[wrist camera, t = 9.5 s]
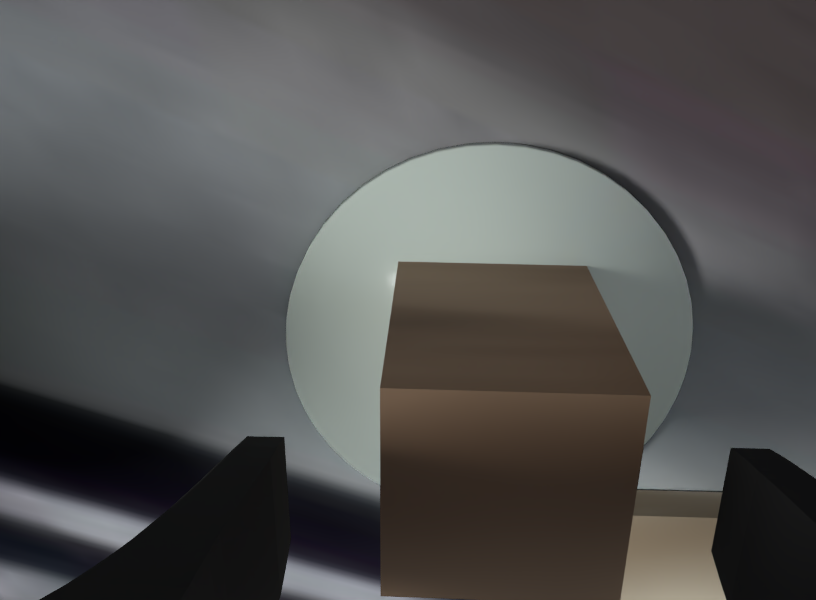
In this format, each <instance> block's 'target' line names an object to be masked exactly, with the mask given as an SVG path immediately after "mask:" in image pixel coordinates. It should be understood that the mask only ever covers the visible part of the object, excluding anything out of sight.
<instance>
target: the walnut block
mask: <svg viewBox="0 0 816 600" xmlns="http://www.w3.org/2000/svg"><path fill="white" fill-rule="evenodd" d="M650 400H651V394H650V392H649V390H648V388H647V386H646V384H645V382H644V380H643V378H642V376H641V374H640V372H639V370H638V368H637V366H636V364H635V362H634V360H633V358H632V356H631V354H630V352H629V350H628V348H627V346H626V344H625V342H624V340H623V338H622V336H621V334H620V332H619V330H618V328H617V326H616V324H615V322H614V320H613V318H612V316H611V314H610V312H609V310H608V308H607V306H606V304H605V302H604V300H603V298H602V296H601V294H600V292H599V290H598V288H597V286H596V284H595V282H594V280H593V278H592V276H591V274H590V271H589V269H588V267H587V266H573V265H530V264H486V263H443V262H399V261H398V267H397V274H396V281H395V288H394V295H393V301H392V308H391V315H390V322H389V329H388V336H387V343H386V350H385V357H384V364H383V370H382V377H381V384H380V524H381V596H393V597H421V598H448V599H476V600H620V599H621V592H622V586H623V579H624V572H625V566H626V559H627V552H628V546H629V539H630V533H631V526H632V519H633V513H634V506H635V499H636V493H637V486H638V480H639V473H640V466H641V460H642V453H643V446H644V440H645V433H646V426H647V420H648V413H649V407H650Z"/></svg>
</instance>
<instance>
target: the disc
mask: <svg viewBox="0 0 816 600" xmlns="http://www.w3.org/2000/svg"><path fill="white" fill-rule="evenodd" d="M398 261H399V262H443V263H486V264H530V265H573V266H587V267H588V269H589V271H590V274H591V276H592V278H593V280H594V282H595V284H596V286H597V288H598V290H599V292H600V294H601V296H602V298H603V300H604V302H605V304H606V306H607V308H608V310H609V312H610V314H611V316H612V318H613V320H614V322H615V324H616V326H617V328H618V330H619V332H620V334H621V336H622V338H623V340H624V342H625V344H626V346H627V348H628V350H629V352H630V354H631V356H632V358H633V360H634V362H635V364H636V366H637V368H638V370H639V372H640V374H641V376H642V378H643V380H644V382H645V384H646V386H647V388H648V390H649V392H650V394H651V400H650V407H649V413H648V420H647V426H646V433H645V440H644V445H645V444H646V443H647V441H648V440H649V439H650V438H651V437H652V436H653V434H654V433H655V432H656V430H657V429H658V428H659V426H660V425H661V424H662V422H663V421H664V420H665V418H666V416H667V414H668V413H669V411H670V409H671V407H672V405H673V404H674V402H675V400H676V398H677V396H678V393H679V391H680V388H681V386H682V383H683V380H684V378H685V375H686V371H687V367H688V363H689V358H690V354H691V346H692V335H693V317H692V303H691V298H690V293H689V289H688V284H687V279H686V277H685V274H684V271H683V269H682V266H681V263H680V261H679V258H678V255H677V254H676V252H675V250H674V248H673V246H672V245H671V243H670V241H669V239H668V238H667V236H666V234H665V232H664V231H663V230H662V229H661V227H660V226H659V225H658V223H657V222H656V221H655V220H654V218H653V217H652V216H651V214H650V213H649V212H648V211H647V210H646V208H645V207H644V206H643V205H642V204H641V203H640V202H639V201H638V200H637V199H635V198H634V197H633V196H632V195H631V194H630V193H629V192H628V191H627V190H626V189H625V188H624V187H622V186H621V185H619V184H618V183H617V182H615V181H614V180H613V179H611V178H610V177H608V176H607V175H606V174H604V173H603V172H601V171H599V170H597V169H595V168H593V167H591V166H589V165H587V164H585V163H583V162H582V161H580V160H578V159H575V158H572V157H569V156H566V155H564V154H561V153H558V152H555V151H552V150H548V149H543V148H539V147H534V146H529V145H525V144H513V143H500V142H488V143H469V144H462V145H456V146H451V147H446V148H440V149H436V150H433V151H430V152H427V153H424V154H421V155H418V156H415V157H412V158H409V159H407V160H405V161H403V162H401V163H399V164H397V165H395V166H393V167H390V168H388V169H386V170H385V171H383V172H382V173H380V174H378V175H377V176H375V177H374V178H372V179H371V180H369V181H368V182H366V183H365V184H363V185H362V186H361V187H360V188H358V189H357V190H356V191H355V192H354V193H353V194H351V195H350V196H349V197H348V198H347V199H346V200H344V201H343V202H342V203H341V204H340V206H339V207H338V208H337V209H336V210H335V211H334V212H333V213H332V215H331V216H330V217H329V218H328V219H327V220H326V221H325V223H324V224H323V226H322V227H321V229H320V230H319V232H318V233H317V235H316V236H315V238H314V239H313V241H312V242H311V244H310V246H309V248H308V251H307V253H306V255H305V257H304V259H303V261H302V263H301V265H300V267H299V269H298V272H297V275H296V278H295V281H294V284H293V287H292V291H291V294H290V299H289V305H288V311H287V318H286V347H287V355H288V362H289V368H290V372H291V375H292V379H293V382H294V386H295V389H296V391H297V394H298V396H299V398H300V401H301V403H302V405H303V407H304V410H305V411H306V413H307V415H308V416H309V418H310V420H311V421H312V423H313V425H314V426H315V428H316V429H317V431H318V432H319V433H320V434H321V436H322V437H323V438H324V439H325V441H326V442H327V443H328V444H329V446H330V447H331V448H332V449H333V450H334V451H335V452H336V453H337V454H338V455H339V456H340V457H341V458H342V459H343V460H344V461H346V462H347V463H348V464H349V465H350V466H352V467H353V468H354V469H356V470H357V471H358V472H360V473H361V474H362V475H364V476H365V477H366V478H368V479H370V480H371V481H373V482H375V483H376V484H378V485H380V384H381V377H382V370H383V364H384V357H385V350H386V343H387V336H388V329H389V322H390V315H391V308H392V301H393V295H394V288H395V281H396V274H397V267H398Z"/></svg>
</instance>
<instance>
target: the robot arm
mask: <svg viewBox="0 0 816 600" xmlns="http://www.w3.org/2000/svg"><path fill="white" fill-rule="evenodd" d="M290 541H291V535H290V519H289V504H288V489H287V473H286V458H285V443H284V437H254V436H247V437H246V438H245V439H244V440H243V441H242V442H241V443H240V444H238V445H237V446H236V447H235V448H234V449H233V450H232V451H231V452H230V453H229V454H228V455H227V456H226V457H225V458H224V459H223V460H221V461H220V462H219V463H218V464H217V465H216V466H215V467H214V468H213V469H212V470H211V471H210V472H209V473H208V474H207V475H206V476H205V477H204V478H203V479H202V480H201V481H199V482H198V483H197V484H196V485H195V486H194V487H193V488H192V489H191V490H190V491H189V492H187V493H186V494H185V495H184V496H183V497H182V498H181V499H180V500H179V501H178V502H176V503H175V504H174V505H173V506H172V507H171V508H170V509H169V510H167V511H166V512H165V513H164V514H162V515H161V516H160V517H159V518H158V519H156V520H155V521H154V522H153V523H151V524H150V525H149V526H148V527H147V528H145V529H144V530H143V531H142V532H140V533H139V534H138V535H137V536H136V537H134V538H133V539H132V540H130V541H129V542H128V543H126V544H125V545H124V546H122V547H121V548H120V549H118V550H117V551H116V552H114V553H113V554H111V555H110V556H109V557H107V558H106V559H104V560H103V561H101V562H100V563H98V564H97V565H95V566H94V567H92V568H91V569H89V570H88V571H86V572H85V573H83V574H82V575H80V576H79V577H77V578H76V579H74V580H72V581H71V582H69V583H68V584H66V585H64V586H62V587H61V588H59V589H57V590H55V591H54V592H52V593H50V594H49V595H47V596H45V597H43V598H42V599H40V600H279V598H280V595H281V590H282V585H283V580H284V574H285V569H286V563H287V558H288V552H289V546H290ZM711 552H712V555H713V559H714V562H715V565H716V569H717V572H718V575H719V579H720V582H721V585H722V588H723V591H724V594H725V597H726V600H816V479H815V478H814V477H812V476H811V475H809V474H808V473H806V472H805V471H803V470H802V469H801V468H799V467H798V466H796V465H795V464H793V463H792V462H790V461H789V460H787V459H785V458H784V457H782V456H781V455H779V454H777V453H776V452H774V451H772V450H770V449H749V448H731V450H730V455H729V460H728V466H727V471H726V476H725V481H724V487H723V492H722V497H721V502H720V507H719V513H718V518H717V523H716V528H715V534H714V539H713V544H712V549H711Z"/></svg>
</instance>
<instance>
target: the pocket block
mask: <svg viewBox="0 0 816 600" xmlns="http://www.w3.org/2000/svg"><path fill="white" fill-rule="evenodd" d="M721 497H722V492H695V491H659V490H637V493H636V499H635V506H634V513H633V519H632V526H631V533H630V539H629V546H628V552H627V559H626V566H625V572H624V579H623V586H622V592H621V599H620V600H726V597H725V594H724V591H723V588H722V585H721V582H720V579H719V575H718V572H717V569H716V565H715V562H714V559H713V555H712V552H711V549H712V544H713V539H714V534H715V528H716V523H717V518H718V513H719V507H720V502H721Z"/></svg>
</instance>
